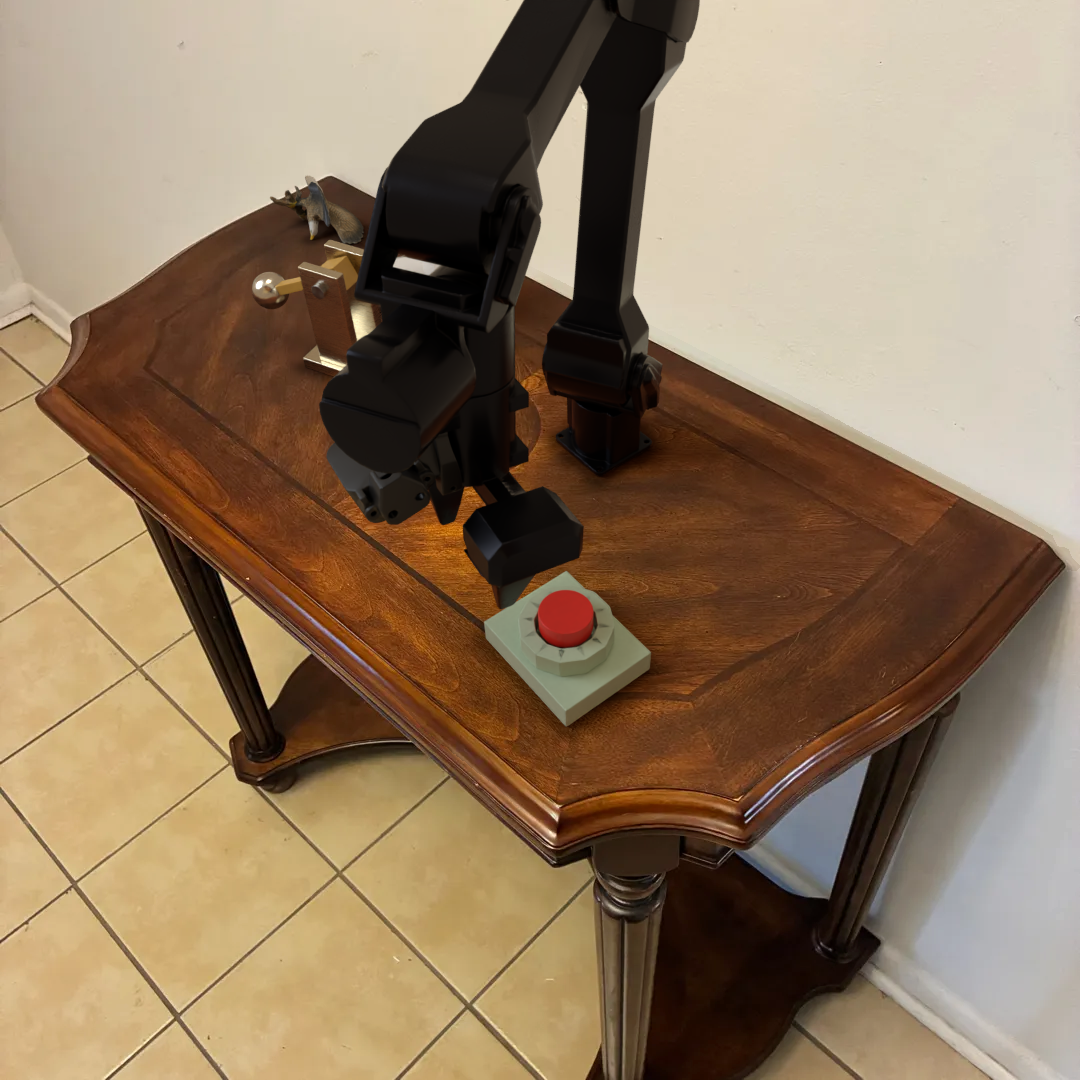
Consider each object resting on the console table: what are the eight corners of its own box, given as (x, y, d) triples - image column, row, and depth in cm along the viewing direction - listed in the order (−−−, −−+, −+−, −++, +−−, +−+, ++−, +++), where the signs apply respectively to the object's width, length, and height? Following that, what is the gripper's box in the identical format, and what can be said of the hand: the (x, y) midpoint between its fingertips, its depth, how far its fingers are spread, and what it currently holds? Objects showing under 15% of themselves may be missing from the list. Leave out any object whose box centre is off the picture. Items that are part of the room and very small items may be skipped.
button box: (650, 669, 74) (652, 637, 71) (566, 727, 71) (565, 697, 68) (566, 587, 79) (566, 555, 76) (485, 638, 76) (481, 607, 73)
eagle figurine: (267, 234, 113) (325, 241, 109) (270, 168, 111) (329, 172, 107) (315, 240, 119) (371, 247, 115) (318, 178, 118) (376, 182, 113)
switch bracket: (305, 367, 99) (277, 264, 90) (340, 334, 102) (317, 232, 93) (371, 390, 96) (350, 286, 87) (405, 354, 100) (387, 252, 91)
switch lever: (258, 318, 99) (237, 287, 97) (280, 299, 101) (260, 267, 99) (345, 300, 91) (324, 265, 89) (367, 280, 93) (347, 245, 91)
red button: (604, 629, 72) (604, 614, 71) (561, 657, 71) (561, 643, 69) (570, 595, 74) (570, 580, 73) (527, 622, 73) (526, 607, 71)
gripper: (280, 328, 60) (317, 518, 71) (398, 507, 48) (421, 703, 59) (447, 286, 64) (458, 472, 75) (594, 443, 52) (582, 637, 63)
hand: (475, 562), depth 68 cm, fingers open, 9 cm apart
